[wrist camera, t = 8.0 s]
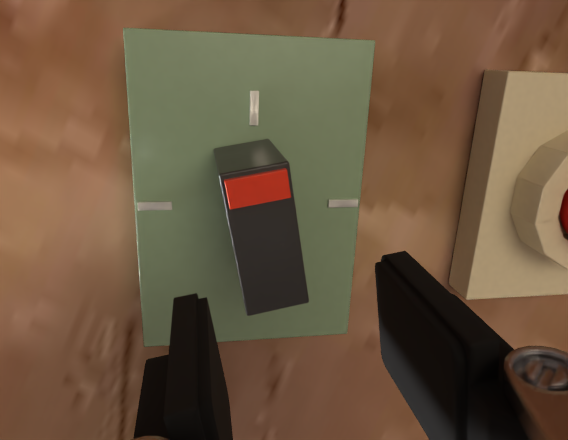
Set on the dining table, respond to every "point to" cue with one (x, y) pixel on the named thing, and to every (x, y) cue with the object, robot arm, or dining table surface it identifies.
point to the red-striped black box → (262, 225)
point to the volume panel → (235, 130)
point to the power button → (564, 211)
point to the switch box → (515, 190)
